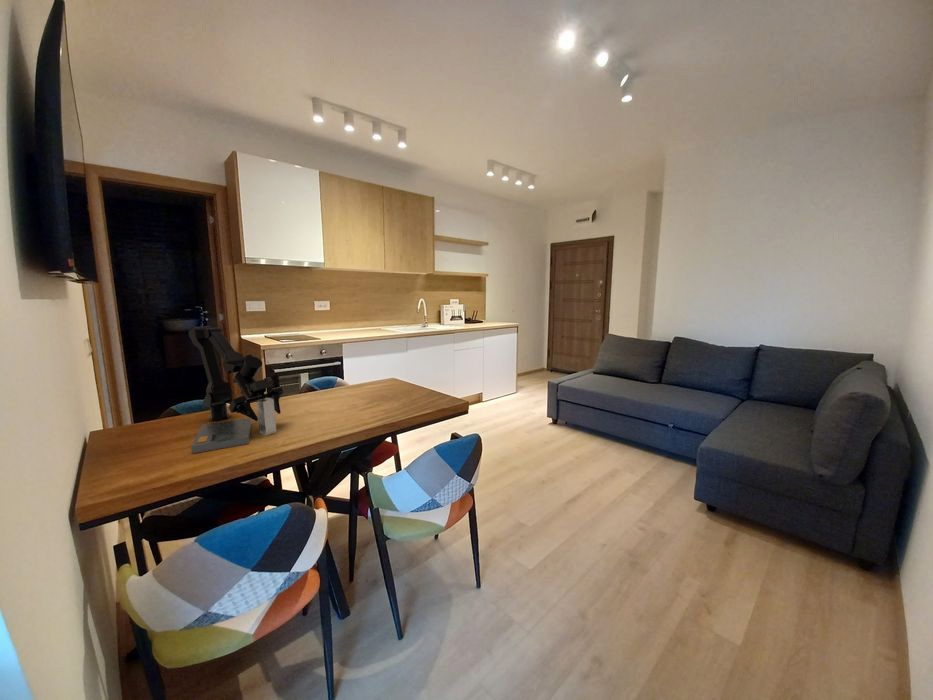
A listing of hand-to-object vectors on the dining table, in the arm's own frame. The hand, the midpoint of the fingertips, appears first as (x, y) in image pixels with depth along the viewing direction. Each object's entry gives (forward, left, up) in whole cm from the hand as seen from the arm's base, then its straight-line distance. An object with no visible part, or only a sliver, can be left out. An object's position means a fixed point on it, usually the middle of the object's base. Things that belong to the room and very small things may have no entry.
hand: (268, 416), depth 133 cm
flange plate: (-4, -15, -7) cm, 17 cm away
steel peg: (-1, -1, -7) cm, 7 cm away
